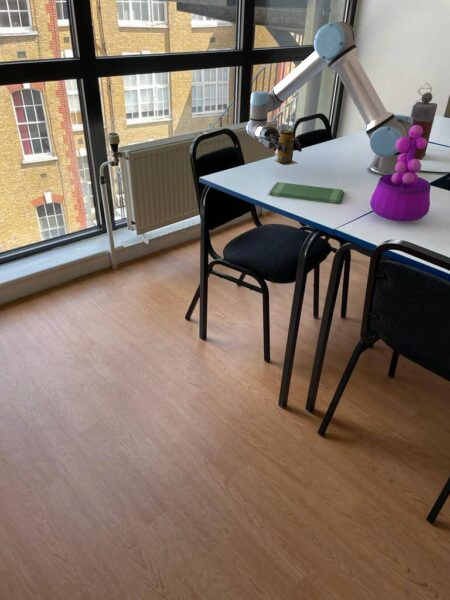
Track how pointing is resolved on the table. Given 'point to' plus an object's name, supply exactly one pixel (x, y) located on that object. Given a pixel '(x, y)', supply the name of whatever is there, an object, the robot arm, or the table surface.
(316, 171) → the table surface
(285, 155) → the condiment
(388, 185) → the decorative plant
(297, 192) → the towel
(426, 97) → the glass decanter
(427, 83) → the dna model
